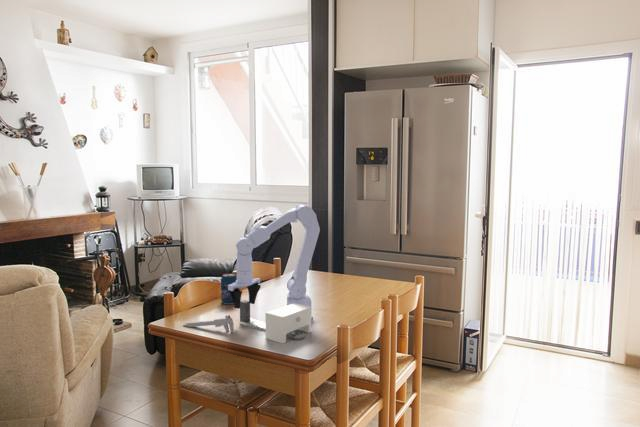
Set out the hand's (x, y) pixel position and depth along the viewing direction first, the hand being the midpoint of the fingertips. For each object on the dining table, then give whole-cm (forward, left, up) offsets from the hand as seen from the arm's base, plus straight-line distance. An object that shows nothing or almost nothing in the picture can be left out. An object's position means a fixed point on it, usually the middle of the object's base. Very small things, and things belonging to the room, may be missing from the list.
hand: (244, 305), depth 185 cm
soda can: (-15, -25, -7) cm, 30 cm away
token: (0, +26, -7) cm, 27 cm away
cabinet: (0, +22, -6) cm, 23 cm away
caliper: (+13, -5, -7) cm, 16 cm away
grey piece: (0, +7, -6) cm, 9 cm away
